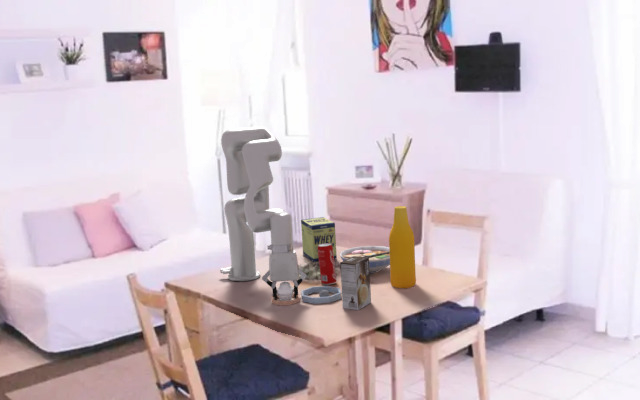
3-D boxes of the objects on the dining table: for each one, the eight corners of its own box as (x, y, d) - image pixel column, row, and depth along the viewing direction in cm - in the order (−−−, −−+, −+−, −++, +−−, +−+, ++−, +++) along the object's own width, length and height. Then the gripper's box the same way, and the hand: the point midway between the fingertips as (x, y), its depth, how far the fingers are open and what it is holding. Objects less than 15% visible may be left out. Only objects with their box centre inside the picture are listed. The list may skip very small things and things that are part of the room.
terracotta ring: (271, 305, 269) (271, 302, 268) (271, 297, 278) (271, 294, 278) (300, 303, 269) (300, 300, 269) (299, 295, 279) (299, 292, 279)
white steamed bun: (294, 297, 277) (293, 278, 276) (294, 302, 271) (293, 283, 270) (277, 298, 277) (275, 279, 275) (276, 303, 271) (275, 284, 269)
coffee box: (355, 300, 270) (353, 255, 267) (371, 302, 266) (369, 257, 263) (341, 308, 262) (339, 262, 259) (358, 310, 258) (356, 263, 256)
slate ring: (302, 304, 268) (301, 298, 268) (301, 292, 282) (300, 287, 281) (342, 301, 269) (341, 296, 268) (339, 290, 282) (338, 284, 282)
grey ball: (319, 301, 270) (319, 291, 269) (319, 298, 274) (318, 288, 273) (330, 301, 270) (329, 291, 270) (329, 298, 274) (328, 288, 273)
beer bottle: (404, 280, 291) (401, 203, 286) (421, 284, 283) (418, 206, 278) (385, 285, 286) (382, 207, 280) (402, 290, 278) (399, 210, 273)
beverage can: (335, 285, 289) (333, 246, 286) (317, 285, 290) (315, 246, 287) (337, 280, 294) (335, 242, 292) (321, 280, 296) (318, 242, 293)
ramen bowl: (378, 259, 322) (377, 240, 320) (412, 271, 302) (412, 250, 301) (327, 270, 309) (326, 250, 308) (359, 283, 290) (358, 262, 288)
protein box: (313, 262, 324) (311, 225, 321) (302, 254, 338) (300, 219, 335) (337, 259, 327) (335, 222, 324) (325, 251, 341) (323, 216, 339)
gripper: (257, 252, 266) (260, 302, 270) (307, 248, 267) (310, 299, 270) (257, 247, 274) (261, 296, 277) (306, 243, 274) (309, 293, 278)
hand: (285, 297), depth 274 cm, fingers closed on white steamed bun, 6 cm apart
